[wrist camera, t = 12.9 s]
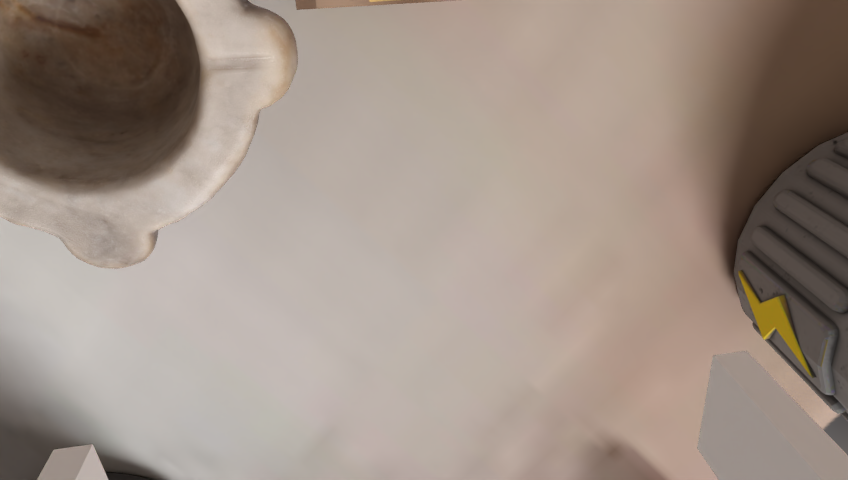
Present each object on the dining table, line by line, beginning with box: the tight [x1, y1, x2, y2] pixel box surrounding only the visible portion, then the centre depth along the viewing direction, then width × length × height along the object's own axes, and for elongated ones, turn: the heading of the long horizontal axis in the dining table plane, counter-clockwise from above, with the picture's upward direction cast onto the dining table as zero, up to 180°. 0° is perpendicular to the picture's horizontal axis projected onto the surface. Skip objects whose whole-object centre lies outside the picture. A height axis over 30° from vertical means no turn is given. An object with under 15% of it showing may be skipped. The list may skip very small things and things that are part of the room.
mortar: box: [0, 0, 298, 269], centre depth 30 cm, size 17×17×9 cm
